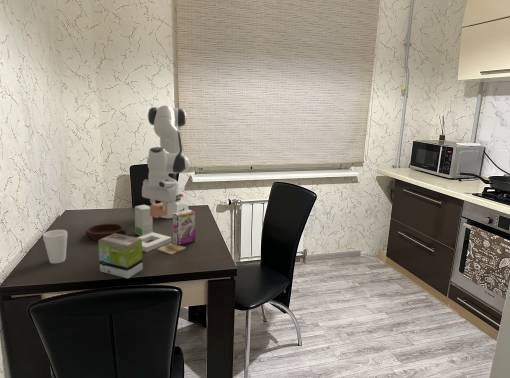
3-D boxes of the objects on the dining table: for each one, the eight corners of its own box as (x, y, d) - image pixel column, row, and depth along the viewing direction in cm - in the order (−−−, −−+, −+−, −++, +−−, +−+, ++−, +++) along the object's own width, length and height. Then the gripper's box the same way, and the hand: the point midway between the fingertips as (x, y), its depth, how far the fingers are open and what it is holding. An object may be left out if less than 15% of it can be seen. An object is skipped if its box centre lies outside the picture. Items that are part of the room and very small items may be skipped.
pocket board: (152, 236, 196) (152, 232, 196) (171, 241, 190) (171, 237, 189) (127, 245, 182) (127, 241, 182) (146, 252, 175) (146, 247, 175)
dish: (120, 243, 186) (120, 234, 185) (77, 242, 186) (76, 233, 184) (131, 232, 203) (131, 223, 202) (92, 231, 203) (91, 222, 202)
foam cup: (66, 263, 160) (64, 236, 157) (43, 265, 157) (40, 237, 154) (71, 255, 169) (68, 229, 166) (48, 257, 166) (46, 230, 163)
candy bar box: (177, 246, 184) (177, 215, 180) (172, 243, 187) (172, 213, 184) (196, 241, 192) (195, 211, 188) (190, 238, 195) (190, 209, 192)
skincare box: (134, 233, 201) (133, 206, 197) (145, 230, 206) (144, 204, 202) (142, 237, 195) (141, 209, 192) (153, 234, 200) (152, 207, 197)
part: (160, 213, 183) (160, 202, 182) (167, 214, 180) (167, 204, 179) (150, 216, 177) (149, 205, 176) (156, 217, 175) (156, 206, 173)
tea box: (99, 272, 152) (97, 239, 149) (116, 263, 162) (114, 232, 158) (128, 279, 147) (126, 245, 144) (143, 269, 157) (142, 237, 153)
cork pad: (171, 244, 186) (171, 243, 186) (185, 248, 181) (185, 247, 181) (156, 250, 178) (156, 249, 178) (171, 254, 173) (171, 253, 173)
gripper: (138, 179, 178) (139, 206, 181) (168, 184, 167) (168, 213, 170) (148, 178, 183) (149, 204, 186) (177, 182, 173) (178, 210, 175)
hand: (158, 208), depth 178 cm, fingers closed on part, 4 cm apart
